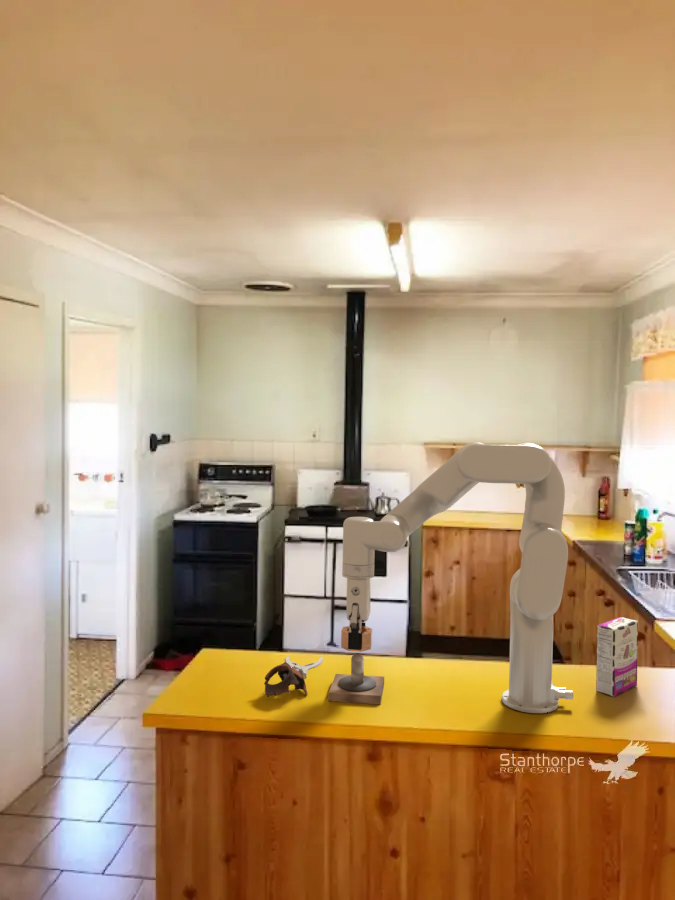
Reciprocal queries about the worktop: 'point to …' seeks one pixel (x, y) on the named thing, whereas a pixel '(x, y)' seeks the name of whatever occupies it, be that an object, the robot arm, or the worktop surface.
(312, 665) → the pliers
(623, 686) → the candy bar box
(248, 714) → the worktop surface
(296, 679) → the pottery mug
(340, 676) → the shaft block
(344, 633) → the ring
